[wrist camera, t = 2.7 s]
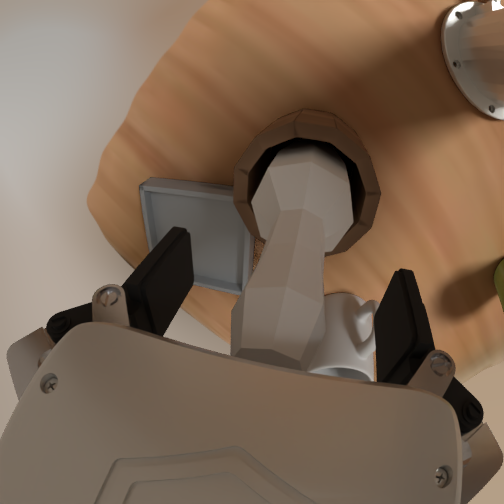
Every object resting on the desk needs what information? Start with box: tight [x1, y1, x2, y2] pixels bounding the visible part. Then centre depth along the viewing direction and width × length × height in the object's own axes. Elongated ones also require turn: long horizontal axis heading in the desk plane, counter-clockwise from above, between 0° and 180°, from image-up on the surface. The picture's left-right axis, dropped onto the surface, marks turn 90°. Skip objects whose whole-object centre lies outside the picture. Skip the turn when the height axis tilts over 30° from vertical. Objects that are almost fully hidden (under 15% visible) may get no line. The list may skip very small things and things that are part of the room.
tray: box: [139, 177, 255, 295], centre depth 33 cm, size 13×13×2 cm
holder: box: [233, 109, 381, 257], centre depth 22 cm, size 10×10×9 cm
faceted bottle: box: [231, 139, 353, 372], centre depth 17 cm, size 6×6×22 cm
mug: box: [306, 293, 380, 381], centre depth 30 cm, size 12×8×11 cm
